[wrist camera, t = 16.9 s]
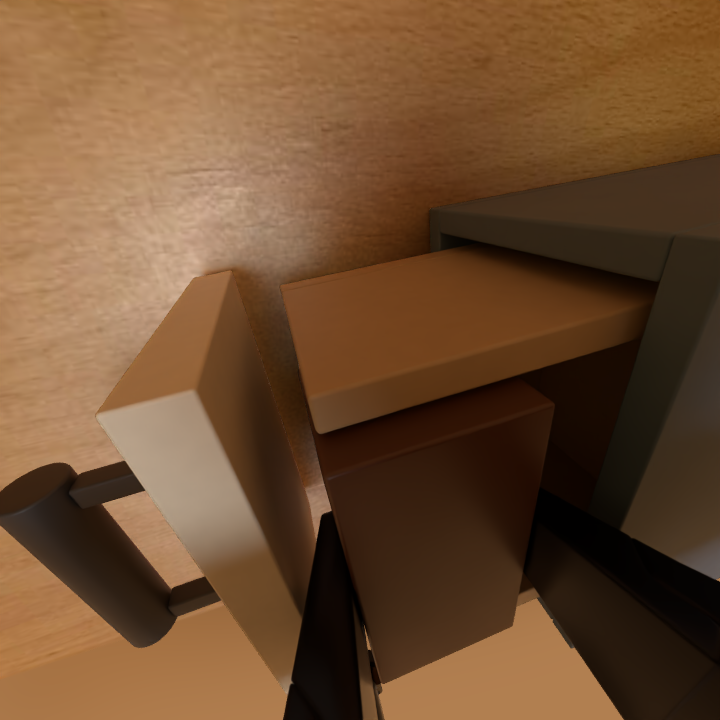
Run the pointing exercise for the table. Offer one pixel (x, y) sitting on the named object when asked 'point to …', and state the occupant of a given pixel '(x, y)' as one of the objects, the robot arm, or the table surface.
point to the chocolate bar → (437, 516)
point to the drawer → (318, 422)
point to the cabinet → (659, 342)
